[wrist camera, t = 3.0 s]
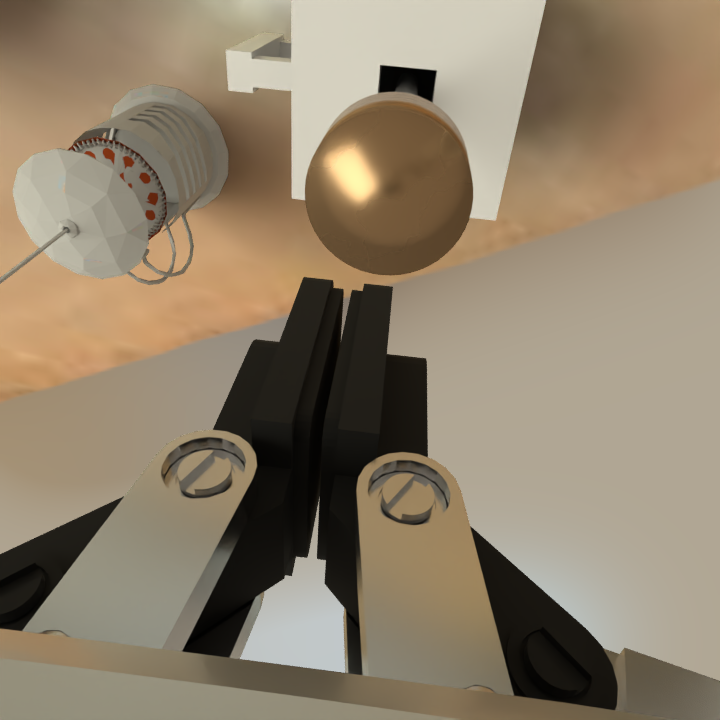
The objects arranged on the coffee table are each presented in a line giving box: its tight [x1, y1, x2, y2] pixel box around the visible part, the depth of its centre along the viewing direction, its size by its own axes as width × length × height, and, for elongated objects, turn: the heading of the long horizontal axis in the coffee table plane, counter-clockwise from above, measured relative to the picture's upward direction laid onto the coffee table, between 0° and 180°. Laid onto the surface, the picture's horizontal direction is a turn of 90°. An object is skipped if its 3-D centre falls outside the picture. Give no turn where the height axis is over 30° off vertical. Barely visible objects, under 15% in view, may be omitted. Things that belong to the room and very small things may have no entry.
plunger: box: [305, 73, 473, 275], centre depth 24 cm, size 5×5×18 cm
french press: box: [0, 84, 228, 285], centre depth 34 cm, size 10×12×25 cm
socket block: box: [226, 0, 546, 221], centre depth 33 cm, size 16×12×13 cm
